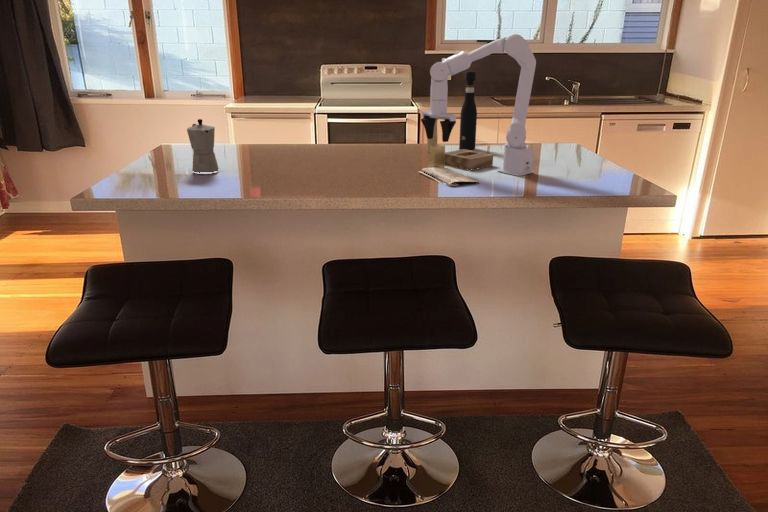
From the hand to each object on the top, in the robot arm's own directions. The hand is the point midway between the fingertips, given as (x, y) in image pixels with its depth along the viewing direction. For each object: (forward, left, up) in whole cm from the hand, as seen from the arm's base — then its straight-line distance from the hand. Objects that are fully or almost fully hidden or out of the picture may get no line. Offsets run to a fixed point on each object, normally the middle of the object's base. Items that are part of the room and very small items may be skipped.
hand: (437, 140), depth 204 cm
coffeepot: (+49, +64, -10) cm, 81 cm away
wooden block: (0, 0, -10) cm, 10 cm away
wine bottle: (+17, -34, -10) cm, 39 cm away
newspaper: (-12, +7, -11) cm, 18 cm away
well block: (-3, -12, -10) cm, 16 cm away
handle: (+21, -18, -10) cm, 29 cm away
